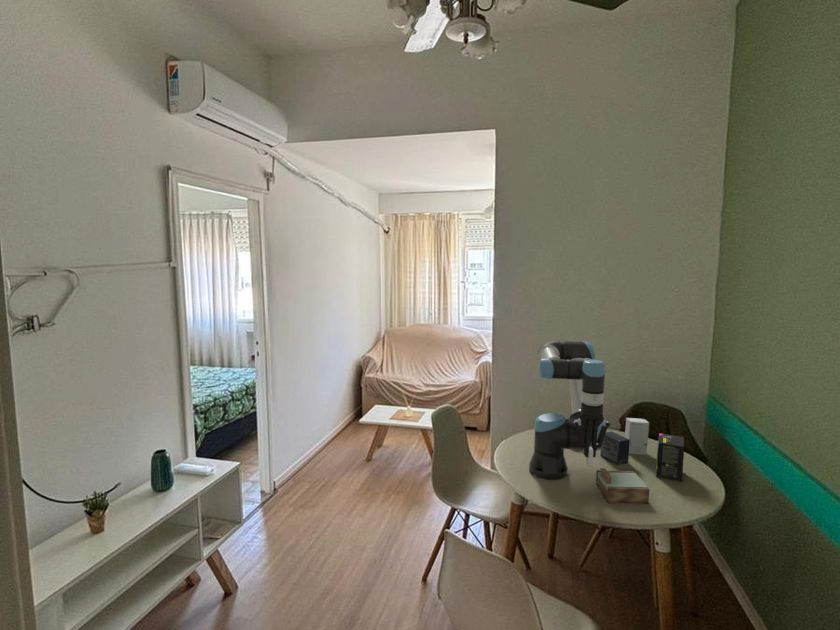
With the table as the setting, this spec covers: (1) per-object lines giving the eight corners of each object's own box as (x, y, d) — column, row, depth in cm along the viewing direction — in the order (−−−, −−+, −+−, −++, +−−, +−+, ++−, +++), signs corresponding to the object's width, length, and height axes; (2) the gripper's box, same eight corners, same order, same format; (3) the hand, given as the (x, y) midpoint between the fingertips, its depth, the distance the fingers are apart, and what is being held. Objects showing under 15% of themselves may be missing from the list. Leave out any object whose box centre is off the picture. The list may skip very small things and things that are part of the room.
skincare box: (628, 454, 210) (629, 422, 208) (623, 448, 216) (625, 417, 214) (647, 455, 209) (649, 422, 207) (642, 449, 215) (644, 417, 213)
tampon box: (656, 466, 199) (658, 432, 197) (681, 470, 194) (684, 436, 192) (655, 477, 189) (657, 441, 187) (682, 482, 185) (684, 446, 183)
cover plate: (607, 490, 170) (607, 479, 170) (597, 475, 181) (597, 465, 181) (647, 491, 170) (648, 480, 169) (634, 476, 181) (635, 466, 180)
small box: (629, 463, 202) (631, 439, 200) (617, 465, 199) (618, 441, 198) (611, 453, 211) (612, 430, 210) (599, 455, 209) (600, 432, 208)
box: (608, 502, 169) (608, 488, 169) (595, 483, 183) (596, 470, 183) (648, 503, 169) (649, 489, 168) (632, 484, 183) (633, 471, 182)
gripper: (576, 405, 169) (574, 469, 172) (614, 406, 168) (611, 470, 171) (571, 399, 176) (568, 460, 179) (607, 400, 175) (604, 461, 178)
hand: (589, 465), depth 175 cm, fingers closed
